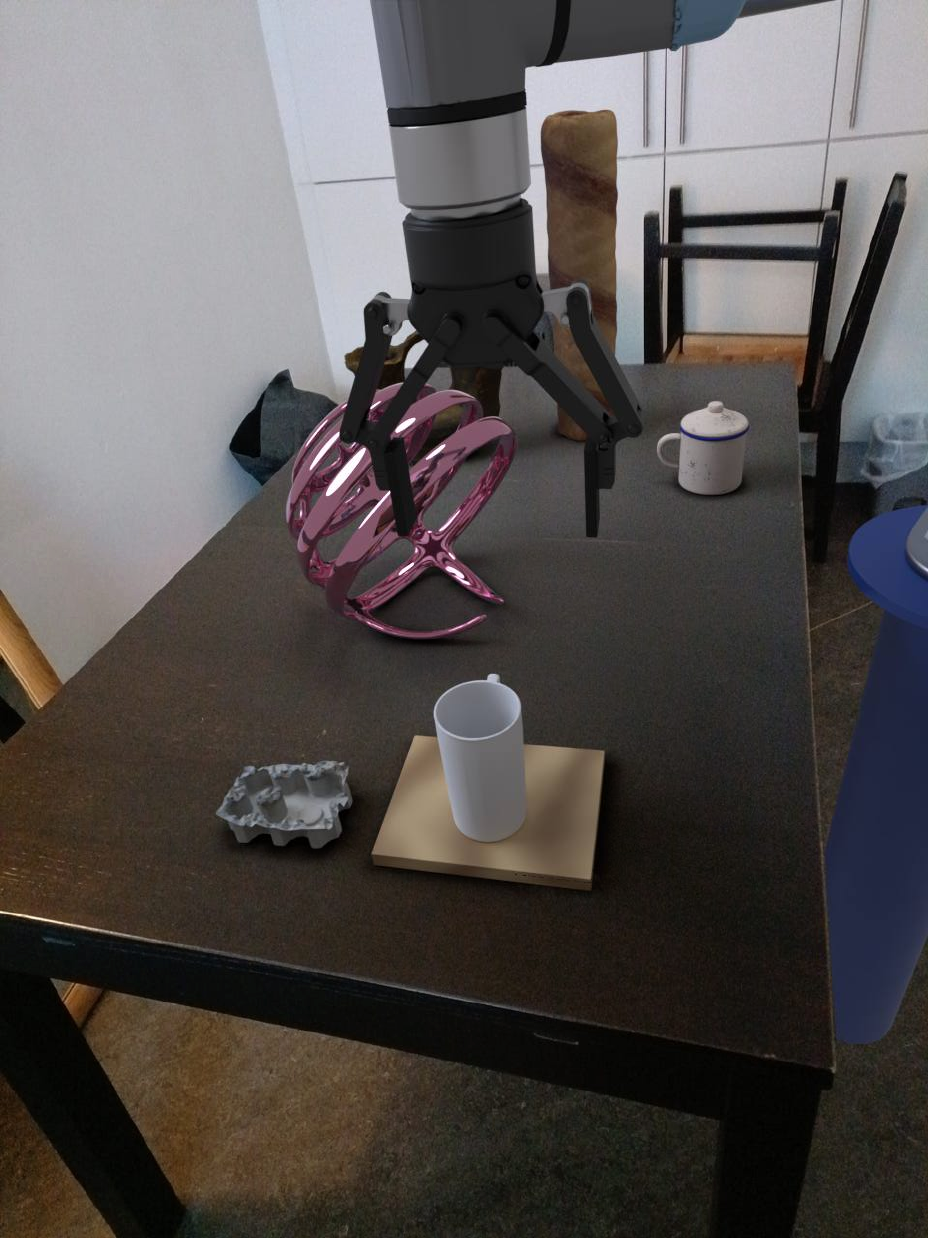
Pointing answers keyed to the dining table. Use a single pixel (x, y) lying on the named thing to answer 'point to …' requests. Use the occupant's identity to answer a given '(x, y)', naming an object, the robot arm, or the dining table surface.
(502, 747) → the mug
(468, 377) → the pottery vessel
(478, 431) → the spiral basket
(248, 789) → the egg carton
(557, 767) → the board
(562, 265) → the wafer roll
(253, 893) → the dining table surface
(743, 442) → the teacup with lid
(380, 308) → the robot arm
